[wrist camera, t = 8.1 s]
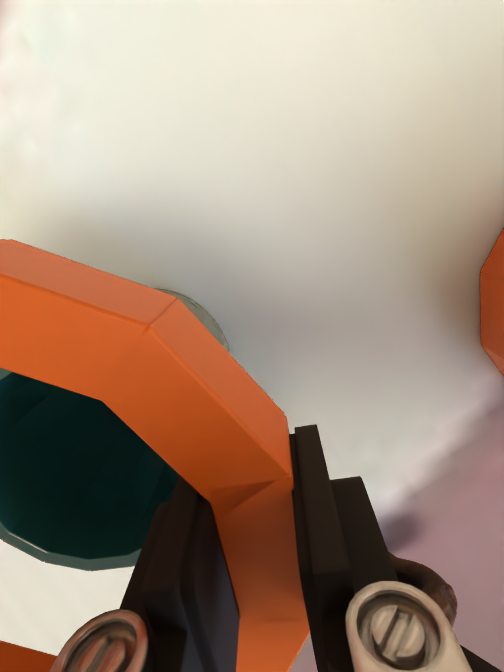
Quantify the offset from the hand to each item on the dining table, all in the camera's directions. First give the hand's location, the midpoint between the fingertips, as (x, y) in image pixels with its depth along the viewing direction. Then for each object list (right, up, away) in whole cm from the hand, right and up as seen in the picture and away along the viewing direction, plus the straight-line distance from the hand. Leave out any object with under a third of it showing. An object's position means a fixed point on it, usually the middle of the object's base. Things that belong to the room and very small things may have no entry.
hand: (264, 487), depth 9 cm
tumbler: (-5, +2, +11) cm, 12 cm away
